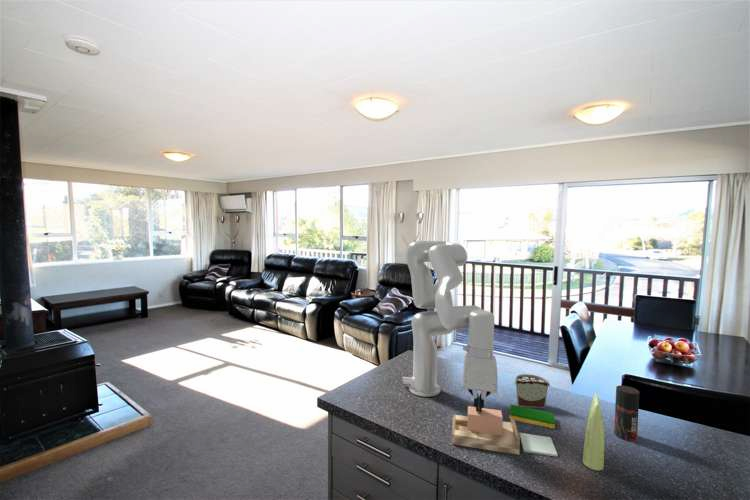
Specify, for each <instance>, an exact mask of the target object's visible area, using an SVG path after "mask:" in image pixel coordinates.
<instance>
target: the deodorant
mask: <svg viewBox="0 0 750 500" xmlns="http://www.w3.org/2000/svg"><path fill="white" fill-rule="evenodd" d="M614 404H615V405H614V406H615V409H614V422H613V423H614V425H613V427H614V428H613V434H614V436H616V437H617V438H618V439H621V440H623V441H627V442H637V440H638V428H639V426H638V425H639V409H640V408H639V407H640V391H639V389H636V388H634V387H631V386H627V385H617V386H616V388H615V403H614Z"/></svg>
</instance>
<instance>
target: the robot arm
mask: <svg viewBox="0 0 750 500" xmlns="http://www.w3.org/2000/svg"><path fill="white" fill-rule="evenodd" d="M405 260H406V263H407V267H408V270H409V273H410V278H411V280H410V281H411V290H412V301H413V304H414V306H415V307H416V308H418V309H435V310H434V311H432V310H431V311H423V312H422V311H421V312H417V313H415V315H413V316H412V317H411V329H412V336H413V337H412V339H413V342H412V343H413V349H412V350H413V353H412V355H413V356H412V357H413V359H412V361H413V362H412V376H410V377H409V376H408V377H407V376H402V377H401V378H402V380H401V382H403V384H405V385H408V390H409V392H410V393H411V394H413V395H415V396H419V397H424V398H425V397H426V398H429V397H430V398H431V397H434V396H439V394H440V393H441V386H440V385H438V382H437V381H438V346H437V343H436V342H435V340H434V339H433V337H435V336H442V335H443V336H444V335H450V334H451V333H453V332H454V331H459V330H460V331H461V330H467V345H463V346H462V351H465V352H466V353H465V356H464V360H463V366H462V383H461V390H464V391H467V392H468V393H470V395H471V396H472V397H473V407H476V411H477V412H478V411H480V412H482V408H485V399H487V397H488V396H490V395H494V394H498V392H499V391H498V364H497V359H496V356H495V355H494V342H495V341H494V340H495V339H494V338H495V337H494V336H495V316H494V313H492V312H491V311H489V310H484V309H483V308H481V307H479V306H478V305H470V304H469V305H455V306H454V302H453V296H452V292H451V291H452V290H453V289H455V288H457V287H458V286H460V284H461V283H462V282H463V277H464V276H463V274H462V272H461V270H460V268H459V267H463V266H464V265H465V264H467V261H468V252H467V251H466V249H465V247H464V246H463V245H461V244H460V243H456V242H455V243H454V242H451V241H445V240H418V241H417V240H416V241H413V242H411V243H410V244H408V246H407V248H406V254H405ZM426 263H430V264H431V267H432V269H433V272H434V275H435V277H436V279H437V284H434V283H433V274H432V271H431V269H430V268H429V267H428V265H426ZM478 391H481V392H480V394H479V393H478Z"/></svg>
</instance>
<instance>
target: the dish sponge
mask: <svg viewBox="0 0 750 500" xmlns="http://www.w3.org/2000/svg"><path fill="white" fill-rule="evenodd" d="M511 418H514V419H515V422H521V423H526V424H529V423H530V424H531V425H534V424H535V426H538V425H539V426H538V427H543V426H545V427H544V428H547V427H549V428H548V429H552V428H554V429H555V426H556V425H555V424H556V423H555V414H554V413H553V412H548V411H545V410H538V409H533V408H530V407H521V406H518V405H515V404H511V405H510V407H509V420H511Z"/></svg>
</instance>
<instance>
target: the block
mask: <svg viewBox="0 0 750 500" xmlns="http://www.w3.org/2000/svg"><path fill="white" fill-rule="evenodd" d="M467 417H468V431H473V432H479V433H486V434H493V435H500V436H502V428H503V422H504V421H503V420H504V419H503V413H502V410H501V409H500V410H499V409H495V408H494V409H492V408H487V407H486V408H485V407H484V408H482V412H480V411H478V412H477V411H476V407H474V406H469V405H468V406H467Z"/></svg>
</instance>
